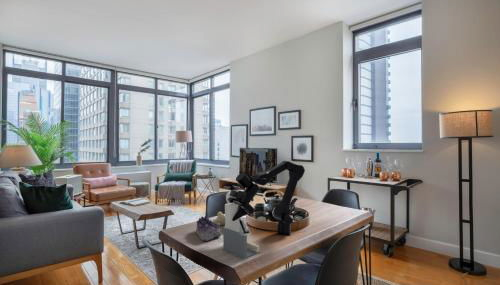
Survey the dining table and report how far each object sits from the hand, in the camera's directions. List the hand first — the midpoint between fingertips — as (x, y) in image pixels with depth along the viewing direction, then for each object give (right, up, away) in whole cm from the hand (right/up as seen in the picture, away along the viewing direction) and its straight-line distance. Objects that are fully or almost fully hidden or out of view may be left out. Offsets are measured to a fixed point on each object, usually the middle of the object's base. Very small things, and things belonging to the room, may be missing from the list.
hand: (229, 219), depth 128 cm
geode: (-14, -13, +15) cm, 25 cm away
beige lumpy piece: (-10, -13, +30) cm, 34 cm away
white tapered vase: (+1, -7, +1) cm, 7 cm away
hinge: (+3, -13, +25) cm, 28 cm away
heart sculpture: (+1, -13, +48) cm, 50 cm away
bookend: (+6, -13, -7) cm, 16 cm away
